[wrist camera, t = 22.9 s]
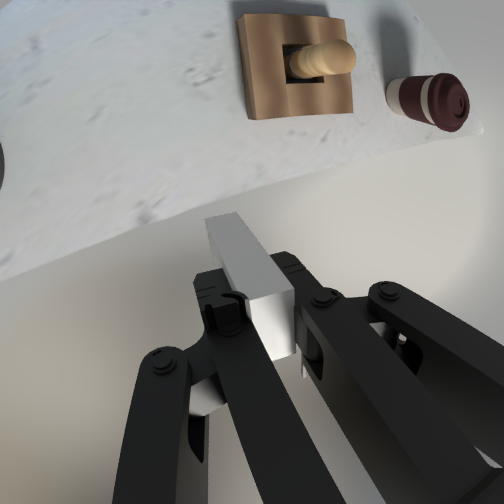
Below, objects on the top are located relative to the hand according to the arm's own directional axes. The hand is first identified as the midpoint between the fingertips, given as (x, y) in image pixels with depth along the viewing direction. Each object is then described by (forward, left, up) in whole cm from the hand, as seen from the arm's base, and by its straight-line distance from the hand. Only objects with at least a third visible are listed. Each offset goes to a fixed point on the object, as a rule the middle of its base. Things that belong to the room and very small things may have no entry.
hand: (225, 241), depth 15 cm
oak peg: (+19, +11, -32) cm, 39 cm away
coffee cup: (+41, +6, -33) cm, 53 cm away
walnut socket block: (+19, +11, -32) cm, 39 cm away
